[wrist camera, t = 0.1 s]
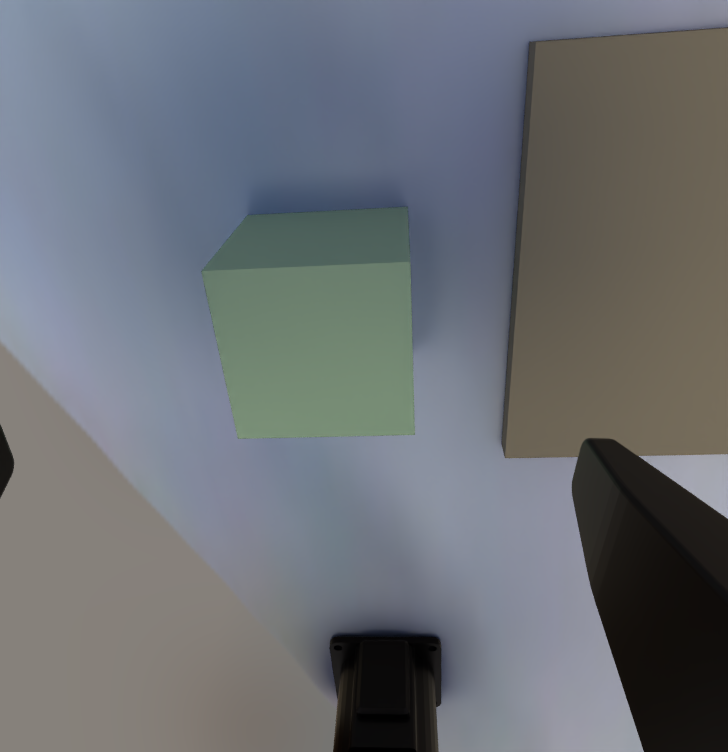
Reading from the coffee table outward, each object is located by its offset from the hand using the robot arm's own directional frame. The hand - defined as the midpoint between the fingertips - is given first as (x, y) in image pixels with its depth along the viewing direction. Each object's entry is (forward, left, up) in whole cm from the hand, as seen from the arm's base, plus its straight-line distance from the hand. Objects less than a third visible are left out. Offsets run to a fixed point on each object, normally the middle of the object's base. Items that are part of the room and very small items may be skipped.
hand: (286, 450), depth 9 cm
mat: (-3, -14, -14) cm, 20 cm away
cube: (-3, +1, -15) cm, 15 cm away
